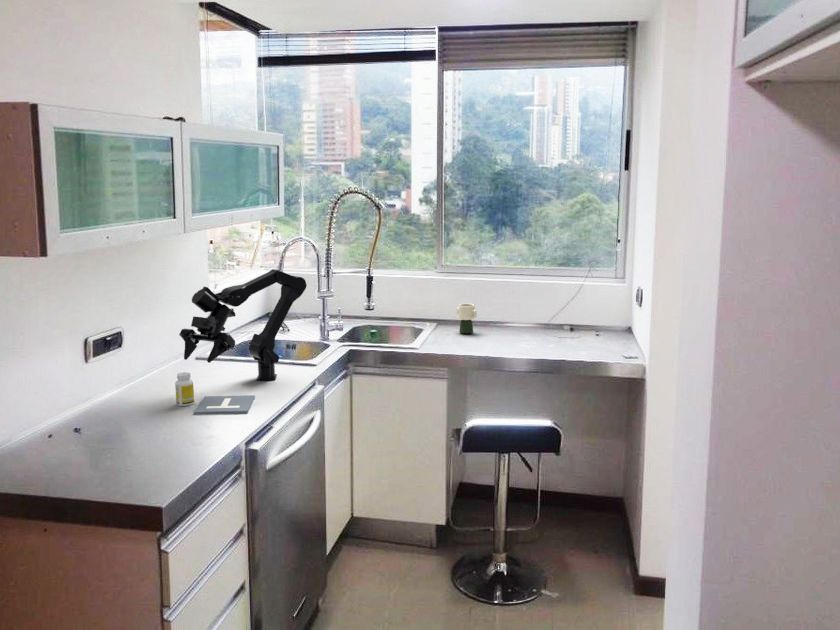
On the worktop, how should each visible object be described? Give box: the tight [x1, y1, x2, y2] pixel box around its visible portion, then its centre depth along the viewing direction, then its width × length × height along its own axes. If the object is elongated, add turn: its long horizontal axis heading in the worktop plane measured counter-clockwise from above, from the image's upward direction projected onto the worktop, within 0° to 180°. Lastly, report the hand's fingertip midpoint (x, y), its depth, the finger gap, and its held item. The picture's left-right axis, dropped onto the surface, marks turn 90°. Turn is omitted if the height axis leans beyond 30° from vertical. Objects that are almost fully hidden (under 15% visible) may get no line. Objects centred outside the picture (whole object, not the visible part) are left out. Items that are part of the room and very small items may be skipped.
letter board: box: [193, 394, 256, 415], centre depth 240 cm, size 16×16×1 cm
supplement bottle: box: [174, 371, 195, 407], centre depth 242 cm, size 5×5×10 cm
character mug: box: [456, 303, 478, 335], centre depth 342 cm, size 11×7×13 cm, turn 49°
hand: (196, 360), depth 246 cm, fingers open, 9 cm apart
